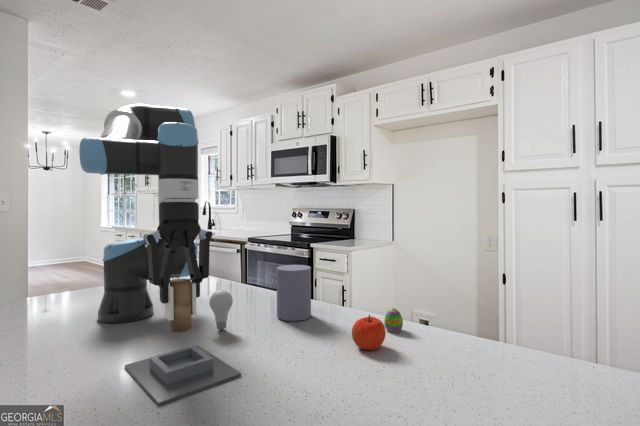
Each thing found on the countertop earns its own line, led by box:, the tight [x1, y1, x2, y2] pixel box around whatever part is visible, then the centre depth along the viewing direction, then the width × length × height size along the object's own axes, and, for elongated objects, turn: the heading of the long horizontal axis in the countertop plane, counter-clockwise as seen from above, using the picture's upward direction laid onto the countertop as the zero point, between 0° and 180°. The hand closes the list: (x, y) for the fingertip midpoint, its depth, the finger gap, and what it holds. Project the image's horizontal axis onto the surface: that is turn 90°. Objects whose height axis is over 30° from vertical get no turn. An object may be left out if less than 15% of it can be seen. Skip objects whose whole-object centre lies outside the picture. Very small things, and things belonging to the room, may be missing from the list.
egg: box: [383, 308, 404, 333], centre depth 100 cm, size 5×5×6 cm
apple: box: [351, 314, 386, 351], centre depth 89 cm, size 8×8×8 cm
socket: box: [124, 345, 242, 407], centre depth 76 cm, size 20×16×3 cm
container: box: [276, 264, 312, 322], centre depth 113 cm, size 10×10×15 cm
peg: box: [169, 278, 192, 334], centre depth 75 cm, size 4×4×10 cm
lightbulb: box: [208, 289, 234, 331], centre depth 101 cm, size 6×6×11 cm
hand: (180, 315), depth 76 cm, fingers closed on peg, 4 cm apart
